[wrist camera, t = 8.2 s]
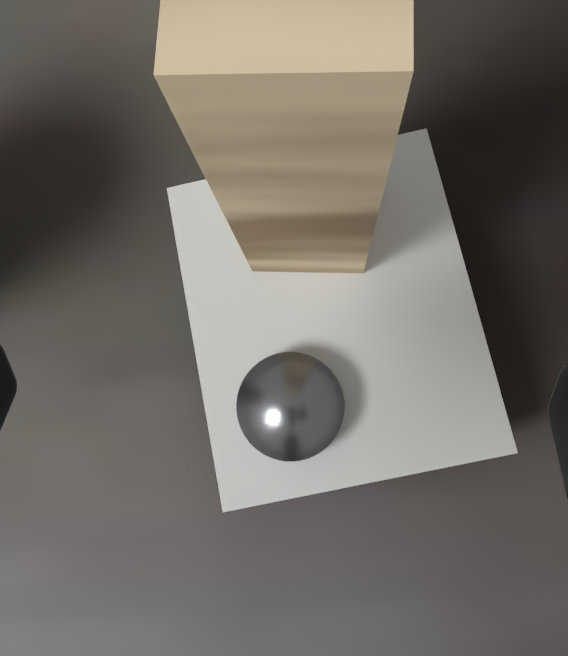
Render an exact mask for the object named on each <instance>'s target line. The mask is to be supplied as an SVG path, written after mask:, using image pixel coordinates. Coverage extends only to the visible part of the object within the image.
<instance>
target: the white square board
mask: <svg viewBox="0 0 568 656" xmlns="http://www.w3.org/2000/svg"><path fill="white" fill-rule="evenodd" d="M167 192H168V198H169V204H170V210H171V216H172V221H173V227H174V233H175V239H176V244H177V250H178V256H179V262H180V268H181V273H182V279H183V285H184V291H185V297H186V302H187V308H188V314H189V320H190V326H191V331H192V337H193V343H194V349H195V354H196V360H197V366H198V372H199V378H200V383H201V389H202V395H203V401H204V407H205V412H206V418H207V424H208V430H209V436H210V441H211V447H212V453H213V459H214V464H215V470H216V476H217V482H218V488H219V493H220V499H221V505H222V511H223V512H227V511H232V510H237V509H242V508H247V507H252V506H257V505H262V504H267V503H272V502H277V501H282V500H287V499H292V498H297V497H302V496H307V495H312V494H317V493H322V492H327V491H332V490H337V489H341V488H346V487H351V486H356V485H361V484H366V483H371V482H376V481H381V480H386V479H391V478H396V477H401V476H406V475H411V474H416V473H421V472H426V471H431V470H436V469H441V468H446V467H451V466H456V465H461V464H466V463H471V462H476V461H481V460H486V459H491V458H496V457H501V456H506V455H511V454H516V453H518V452H517V449H516V445H515V441H514V438H513V434H512V431H511V427H510V424H509V420H508V416H507V413H506V409H505V406H504V402H503V399H502V395H501V392H500V388H499V384H498V381H497V377H496V374H495V370H494V367H493V363H492V360H491V356H490V352H489V349H488V345H487V342H486V338H485V335H484V331H483V327H482V324H481V320H480V317H479V313H478V310H477V306H476V303H475V299H474V295H473V292H472V288H471V285H470V281H469V278H468V274H467V271H466V267H465V263H464V260H463V256H462V253H461V249H460V246H459V242H458V238H457V235H456V231H455V228H454V224H453V221H452V217H451V214H450V210H449V206H448V203H447V199H446V196H445V192H444V189H443V185H442V182H441V178H440V174H439V171H438V167H437V164H436V160H435V157H434V153H433V149H432V146H431V142H430V139H429V135H428V132H427V128H426V129H422V130H417V131H413V132H409V133H404V134H400V135H397V140H396V144H395V148H394V152H393V156H392V160H391V164H390V168H389V172H388V176H387V180H386V184H385V188H384V192H383V196H382V200H381V204H380V208H379V212H378V216H377V220H376V224H375V228H374V232H373V236H372V240H371V244H370V248H369V252H368V256H367V260H366V264H365V268H364V272H363V273H313V272H260V271H252V269H251V267H250V266H249V264H248V262H247V260H246V258H245V256H244V254H243V252H242V250H241V248H240V246H239V244H238V242H237V240H236V238H235V236H234V234H233V232H232V230H231V228H230V226H229V224H228V222H227V220H226V218H225V216H224V214H223V212H222V210H221V208H220V206H219V204H218V202H217V200H216V198H215V196H214V194H213V192H212V190H211V188H210V186H209V184H208V182H207V180H206V179H205V180H200V181H196V182H191V183H187V184H183V185H178V186H174V187H170V188H167ZM282 352H299V353H304V354H307V355H310V356H312V357H315V358H316V359H318V360H320V361H321V362H323V363H324V364H325V365H326V366H327V367H328V368H329V369H330V370H331V371H332V372H333V373H334V375H335V376H336V378H337V379H338V381H339V383H340V386H341V388H342V392H343V395H344V403H345V410H344V418H343V422H342V425H341V428H340V430H339V432H338V434H337V436H336V437H335V439H334V440H333V441H332V443H331V444H330V445H329V446H328V447H327V448H326V449H324V450H323V451H322V452H320V453H319V454H317V455H315V456H313V457H311V458H308V459H305V460H301V461H280V460H276V459H273V458H270V457H268V456H266V455H264V454H262V453H261V452H259V451H258V450H257V449H255V448H254V447H253V446H252V445H251V444H250V443H249V441H248V440H247V439H246V437H245V436H244V434H243V432H242V430H241V428H240V425H239V422H238V418H237V411H236V402H237V395H238V391H239V388H240V386H241V383H242V381H243V379H244V378H245V376H246V375H247V373H248V372H249V371H250V370H251V369H252V368H253V367H254V366H255V365H256V364H257V363H258V362H260V361H261V360H263V359H265V358H266V357H269V356H271V355H274V354H277V353H282Z"/></svg>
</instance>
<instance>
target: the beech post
mask: <svg viewBox="0 0 568 656" xmlns="http://www.w3.org/2000/svg"><path fill="white" fill-rule="evenodd" d="M412 75H413V0H161V1H160V12H159V22H158V33H157V44H156V54H155V65H154V77H155V79H156V81H157V83H158V85H159V87H160V89H161V91H162V93H163V95H164V97H165V99H166V101H167V103H168V105H169V107H170V109H171V111H172V113H173V115H174V117H175V119H176V121H177V123H178V125H179V127H180V129H181V131H182V133H183V135H184V137H185V139H186V141H187V142H188V144H189V146H190V148H191V150H192V152H193V154H194V156H195V158H196V160H197V162H198V164H199V166H200V168H201V170H202V172H203V174H204V176H205V178H206V180H207V182H208V184H209V186H210V188H211V190H212V192H213V194H214V196H215V198H216V200H217V202H218V204H219V206H220V208H221V210H222V212H223V214H224V216H225V218H226V220H227V222H228V224H229V226H230V228H231V230H232V232H233V234H234V236H235V238H236V240H237V242H238V244H239V246H240V248H241V250H242V252H243V254H244V256H245V258H246V260H247V262H248V264H249V266H250V267H251V269H252V271H260V272H313V273H363V272H364V268H365V264H366V260H367V256H368V252H369V248H370V244H371V240H372V236H373V232H374V228H375V224H376V220H377V216H378V212H379V208H380V204H381V200H382V196H383V192H384V188H385V184H386V180H387V176H388V172H389V168H390V164H391V160H392V156H393V152H394V148H395V144H396V140H397V135H398V131H399V127H400V123H401V119H402V115H403V111H404V107H405V103H406V99H407V95H408V91H409V87H410V83H411V79H412Z"/></svg>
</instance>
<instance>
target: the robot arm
mask: <svg viewBox="0 0 568 656" xmlns="http://www.w3.org/2000/svg"><path fill="white" fill-rule="evenodd" d="M16 390H17V382H16V378H15V376H14V373H13V371H12V368H11V366H10V363H9V361H8V359H7V356H6V354H5V351H4V349H3V347H2V346H1V345H0V430H1V428H2V425H3V423H4V421H5V418H6V416H7V413H8V411H9V409H10V406H11V404H12V402H13V399H14V397H15V394H16ZM548 418H549V422H550V427H551V431H552V435H553V439H554V443H555V448H556V452H557V456H558V460H559V465H560V469H561V473H562V477H563V481H564V486H565V490H566V494H567V498H568V364H566V365H564V366H563V367H562V369H561V371H560V373H559V376H558V379H557V382H556V384H555V387H554V390H553V393H552V396H551V398H550V401H549V405H548Z"/></svg>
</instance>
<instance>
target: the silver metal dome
mask: <svg viewBox="0 0 568 656" xmlns="http://www.w3.org/2000/svg"><path fill="white" fill-rule="evenodd" d="M344 410H345V403H344V395H343V392H342V388H341V386H340V383H339V381H338V379H337V378H336V376H335V375H334V373H333V372H332V371H331V370H330V369H329V368H328V367H327V366H326V365H325V364H324V363H323V362H321V361H320V360H318V359H316V358H315V357H312V356H310V355H307V354H304V353H299V352H282V353H277V354H274V355H271V356H269V357H266V358H265V359H263V360H261V361H260V362H258V363H257V364H256V365H255V366H254V367H253V368H252V369H251V370H250V371H249V372H248V373H247V375H246V376H245V378H244V379H243V381H242V383H241V386H240V388H239V391H238V395H237V402H236V411H237V418H238V422H239V425H240V428H241V430H242V432H243V434H244V436H245V437H246V439H247V440H248V441H249V443H250V444H251V445H252V446H253V447H254V448H255V449H257V450H258V451H259V452H261V453H262V454H264V455H266V456H268V457H270V458H273V459H276V460H280V461H301V460H305V459H308V458H311V457H313V456H315V455H317V454H319V453H320V452H322V451H323V450H324V449H326V448H327V447H328V446H329V445H330V444H331V443H332V441H333V440H334V439H335V437H336V436H337V434H338V432H339V430H340V428H341V425H342V422H343V418H344Z"/></svg>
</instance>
